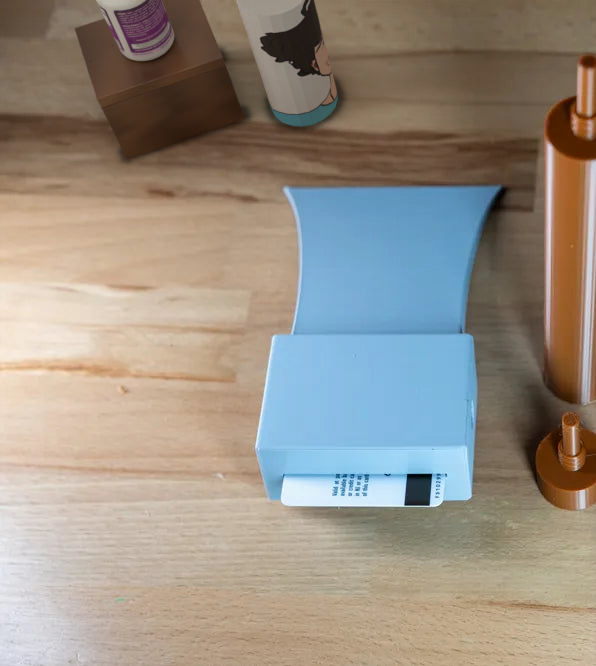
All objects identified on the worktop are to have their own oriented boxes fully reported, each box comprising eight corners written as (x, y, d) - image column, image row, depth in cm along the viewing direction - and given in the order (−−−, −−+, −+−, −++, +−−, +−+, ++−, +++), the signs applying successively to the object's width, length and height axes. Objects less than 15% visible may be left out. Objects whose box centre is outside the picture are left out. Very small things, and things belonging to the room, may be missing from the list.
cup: (346, 117, 117) (317, 3, 104) (280, 137, 116) (243, 24, 103) (329, 70, 120) (299, -46, 107) (265, 89, 119) (227, -26, 106)
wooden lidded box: (128, 162, 115) (96, 99, 107) (106, 92, 120) (74, 27, 112) (246, 121, 117) (222, 57, 109) (218, 55, 122) (194, -12, 114)
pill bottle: (185, 27, 112) (154, -54, 103) (161, 67, 109) (127, -12, 101) (134, 17, 113) (99, -64, 104) (109, 57, 110) (71, -23, 102)
